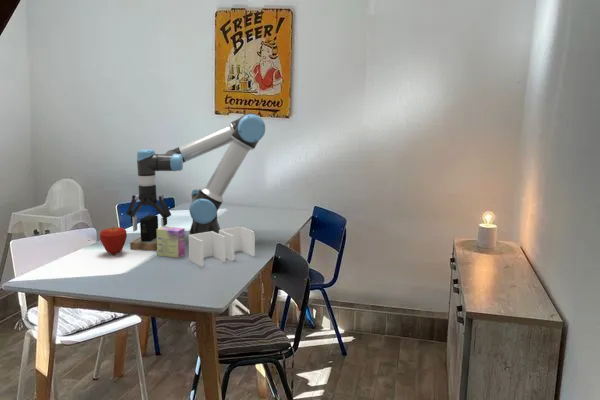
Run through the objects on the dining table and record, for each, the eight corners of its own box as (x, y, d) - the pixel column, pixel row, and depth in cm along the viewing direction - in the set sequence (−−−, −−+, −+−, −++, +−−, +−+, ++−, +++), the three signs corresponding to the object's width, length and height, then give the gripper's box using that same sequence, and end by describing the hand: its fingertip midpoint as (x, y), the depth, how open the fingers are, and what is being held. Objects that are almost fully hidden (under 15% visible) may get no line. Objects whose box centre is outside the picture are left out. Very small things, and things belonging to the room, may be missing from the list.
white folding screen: (241, 250, 255) (241, 226, 253) (254, 256, 247) (254, 231, 244) (189, 260, 241) (188, 235, 239) (201, 267, 232) (200, 240, 230)
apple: (120, 248, 257) (118, 222, 255) (132, 253, 249) (131, 226, 247) (96, 253, 249) (94, 226, 247) (108, 259, 242) (106, 230, 239)
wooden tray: (168, 242, 267) (168, 235, 267) (156, 250, 254) (155, 243, 253) (144, 241, 269) (144, 234, 269) (130, 249, 256) (130, 242, 255)
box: (185, 254, 249) (184, 227, 246) (178, 258, 243) (177, 231, 241) (164, 252, 252) (163, 225, 250) (157, 255, 247) (155, 228, 244)
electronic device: (140, 241, 257) (139, 219, 255) (150, 235, 266) (149, 214, 264) (149, 242, 256) (148, 219, 254) (158, 236, 265) (157, 214, 264)
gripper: (177, 184, 258) (179, 230, 262) (124, 182, 262) (127, 227, 266) (170, 187, 250) (172, 234, 254) (116, 185, 255) (119, 231, 259)
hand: (149, 231), depth 260 cm, fingers open, 13 cm apart
